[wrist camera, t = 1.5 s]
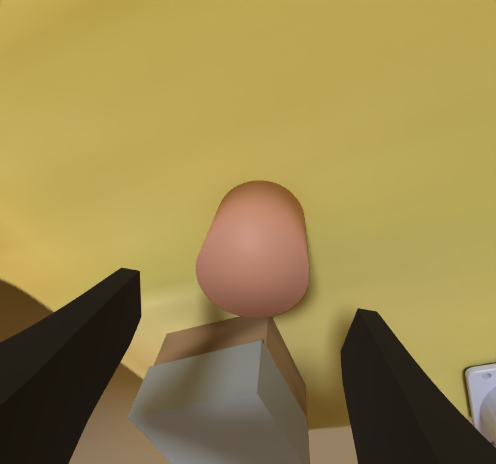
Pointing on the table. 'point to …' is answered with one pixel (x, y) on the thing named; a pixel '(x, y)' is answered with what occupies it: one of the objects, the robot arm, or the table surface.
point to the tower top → (222, 410)
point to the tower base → (235, 335)
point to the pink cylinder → (255, 252)
